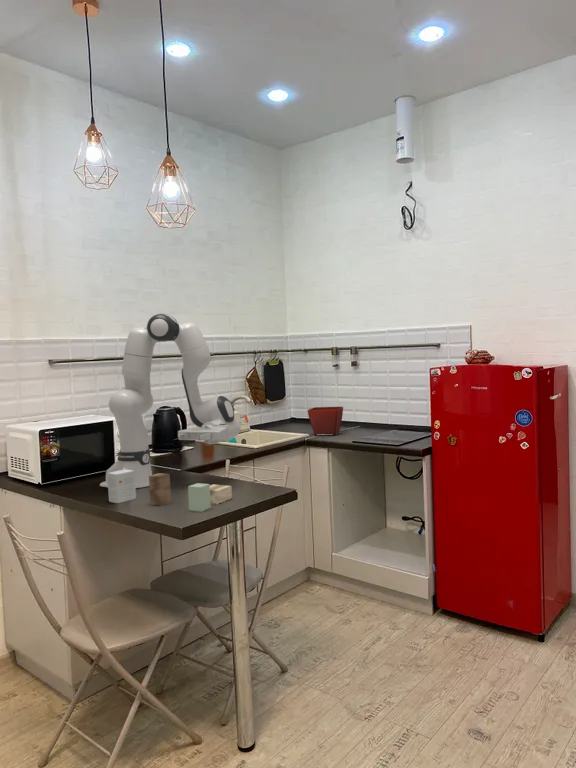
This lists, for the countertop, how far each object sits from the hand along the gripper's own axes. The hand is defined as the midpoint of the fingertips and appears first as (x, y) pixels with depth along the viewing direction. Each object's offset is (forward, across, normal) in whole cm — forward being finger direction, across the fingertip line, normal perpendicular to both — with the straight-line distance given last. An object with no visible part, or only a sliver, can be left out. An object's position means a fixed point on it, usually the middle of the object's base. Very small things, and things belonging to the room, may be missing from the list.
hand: (189, 437), depth 218 cm
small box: (+19, -17, +21) cm, 33 cm away
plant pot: (-160, -19, +21) cm, 163 cm away
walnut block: (+18, 0, +21) cm, 27 cm away
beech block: (+9, +17, +21) cm, 28 cm away
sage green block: (+20, +18, +21) cm, 34 cm away
